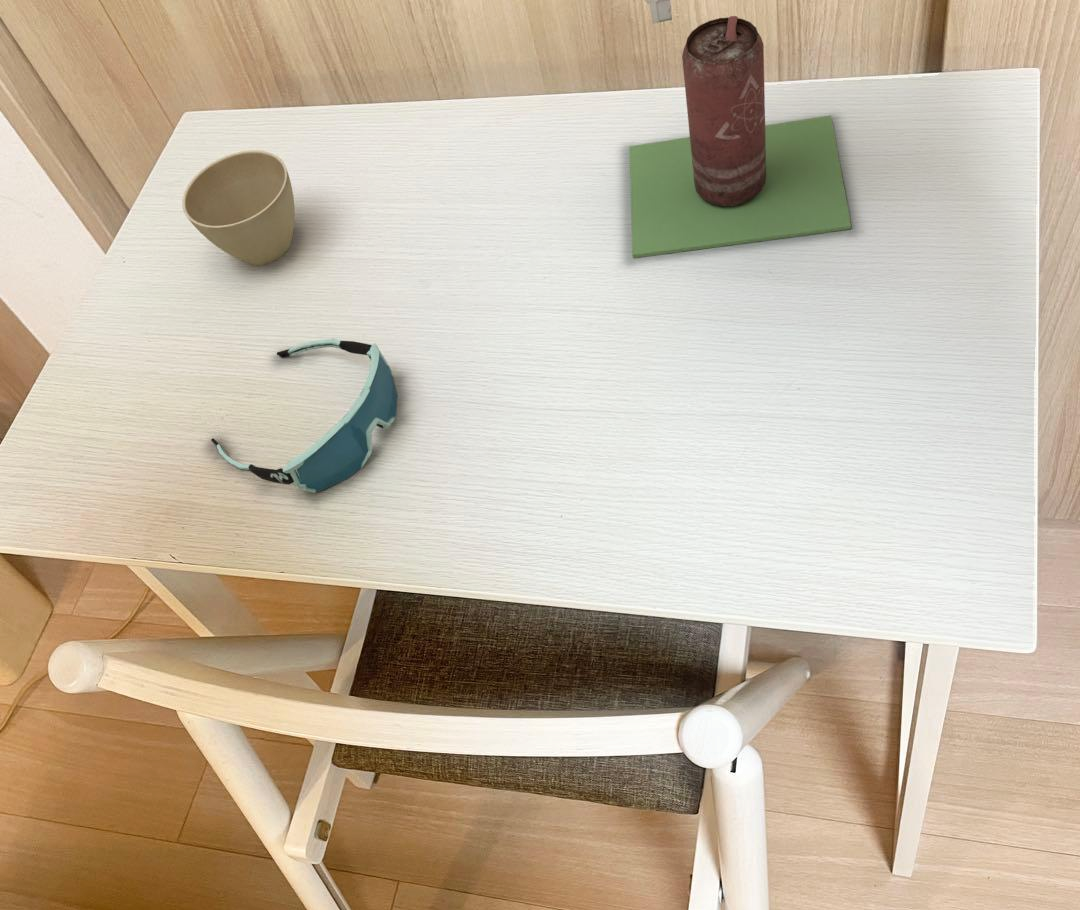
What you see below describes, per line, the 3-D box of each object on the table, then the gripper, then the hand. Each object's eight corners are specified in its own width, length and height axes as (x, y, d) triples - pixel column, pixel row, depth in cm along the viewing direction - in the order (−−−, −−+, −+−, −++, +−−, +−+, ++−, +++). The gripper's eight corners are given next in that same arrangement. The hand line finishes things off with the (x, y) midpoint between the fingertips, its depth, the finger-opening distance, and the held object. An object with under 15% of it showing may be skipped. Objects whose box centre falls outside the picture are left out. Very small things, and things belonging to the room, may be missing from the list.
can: (770, 159, 90) (767, 8, 78) (761, 210, 87) (757, 62, 75) (701, 159, 92) (688, 12, 80) (690, 210, 89) (675, 65, 77)
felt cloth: (830, 119, 92) (831, 115, 91) (851, 229, 85) (851, 225, 84) (630, 149, 95) (629, 146, 95) (633, 258, 88) (632, 254, 88)
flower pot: (236, 301, 95) (199, 243, 89) (206, 241, 101) (169, 183, 95) (331, 251, 96) (301, 190, 90) (297, 194, 102) (266, 134, 96)
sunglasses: (340, 515, 80) (309, 477, 76) (212, 475, 87) (177, 438, 84) (431, 379, 85) (406, 337, 81) (303, 353, 93) (274, 313, 89)
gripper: (548, -143, 65) (586, 56, 76) (888, -217, 61) (874, 5, 72) (551, -192, 68) (587, 6, 79) (873, -265, 64) (862, -45, 75)
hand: (726, 5), depth 76 cm, fingers open, 8 cm apart
